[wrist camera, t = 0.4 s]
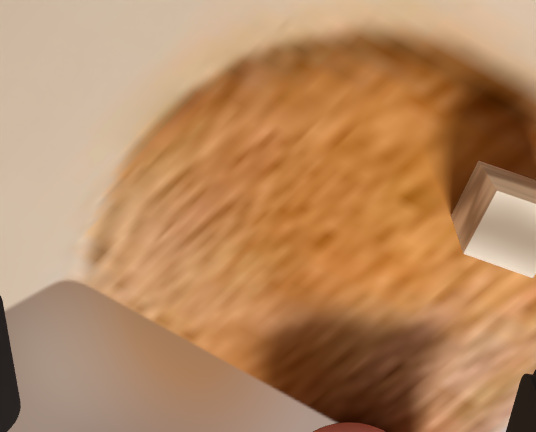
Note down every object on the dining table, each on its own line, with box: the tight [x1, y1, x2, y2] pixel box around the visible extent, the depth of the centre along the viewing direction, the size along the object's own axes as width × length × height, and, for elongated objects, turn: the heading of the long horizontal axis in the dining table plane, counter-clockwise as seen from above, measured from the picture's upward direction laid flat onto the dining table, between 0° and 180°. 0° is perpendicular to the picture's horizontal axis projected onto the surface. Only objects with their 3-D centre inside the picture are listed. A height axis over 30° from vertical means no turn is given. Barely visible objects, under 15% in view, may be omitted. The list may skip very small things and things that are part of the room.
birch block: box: [451, 161, 536, 278], centre depth 38 cm, size 5×5×7 cm
